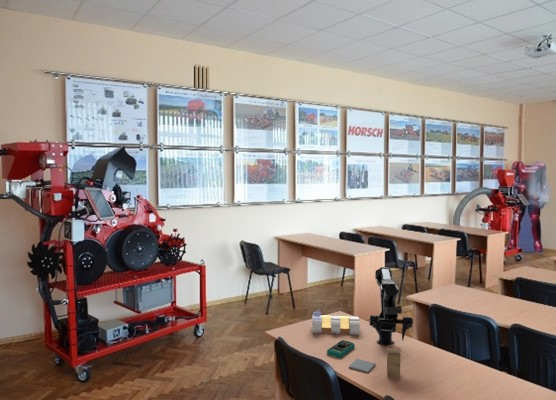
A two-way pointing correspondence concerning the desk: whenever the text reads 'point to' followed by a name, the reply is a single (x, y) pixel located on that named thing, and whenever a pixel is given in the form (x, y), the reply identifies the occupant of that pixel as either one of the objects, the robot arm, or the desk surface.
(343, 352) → the digital multimeter
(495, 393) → the desk surface
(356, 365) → the grey pad
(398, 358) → the walnut block
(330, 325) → the grey yellow long block
